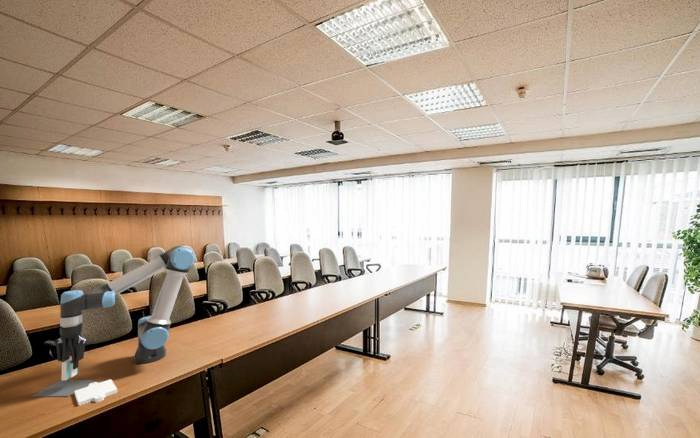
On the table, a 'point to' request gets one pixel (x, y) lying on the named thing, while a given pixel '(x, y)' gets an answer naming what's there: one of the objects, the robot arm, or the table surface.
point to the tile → (66, 369)
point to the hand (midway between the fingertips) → (70, 375)
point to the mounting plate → (95, 392)
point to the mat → (62, 388)
